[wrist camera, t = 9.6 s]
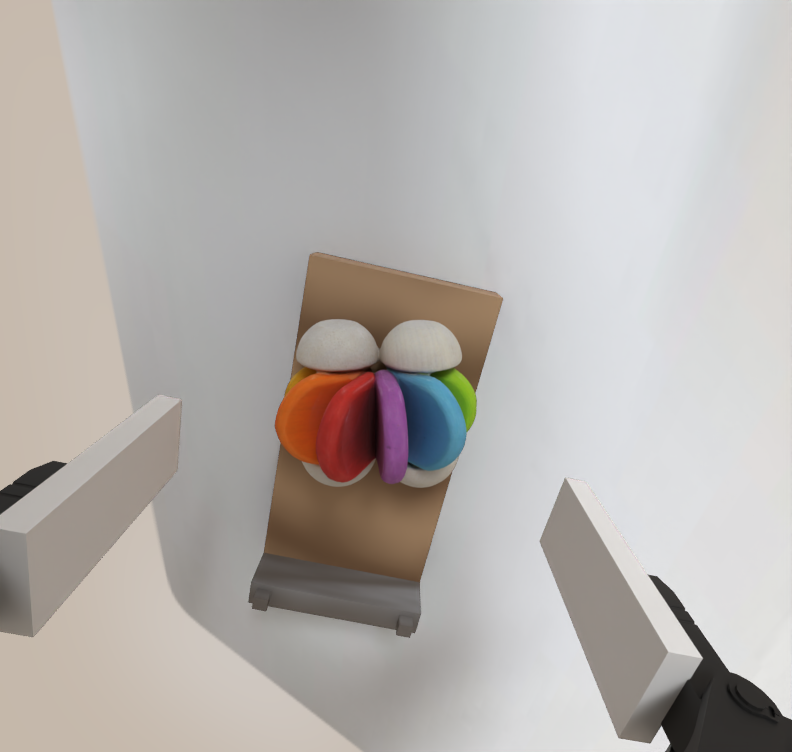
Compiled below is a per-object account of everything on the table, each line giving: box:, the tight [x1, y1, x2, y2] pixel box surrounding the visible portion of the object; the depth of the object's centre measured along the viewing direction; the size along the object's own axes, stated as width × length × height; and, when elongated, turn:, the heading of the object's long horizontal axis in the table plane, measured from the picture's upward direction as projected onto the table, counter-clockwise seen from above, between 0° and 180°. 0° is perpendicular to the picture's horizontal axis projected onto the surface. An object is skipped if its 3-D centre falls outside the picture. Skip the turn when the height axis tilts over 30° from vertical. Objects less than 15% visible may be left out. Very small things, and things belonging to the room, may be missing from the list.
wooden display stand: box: [248, 252, 503, 638], centre depth 26 cm, size 20×10×5 cm, turn 168°
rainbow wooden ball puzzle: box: [275, 319, 477, 488], centre depth 22 cm, size 8×10×7 cm
